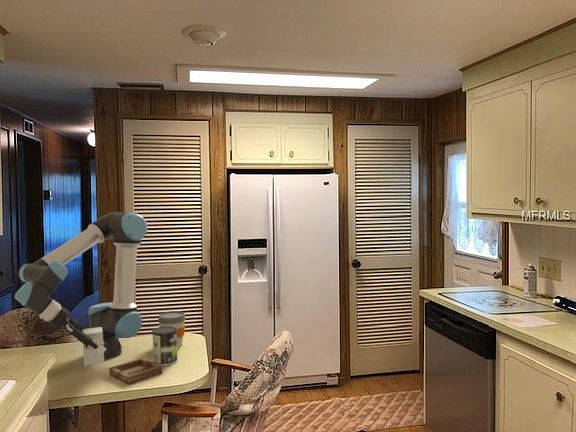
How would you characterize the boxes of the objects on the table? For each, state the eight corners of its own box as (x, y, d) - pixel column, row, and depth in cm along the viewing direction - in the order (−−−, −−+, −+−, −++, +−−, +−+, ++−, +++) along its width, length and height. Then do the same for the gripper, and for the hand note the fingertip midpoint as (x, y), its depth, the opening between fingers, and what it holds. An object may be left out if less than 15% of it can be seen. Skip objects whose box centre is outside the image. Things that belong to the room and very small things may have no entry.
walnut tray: (109, 375, 200) (109, 367, 200) (142, 364, 211) (142, 357, 211) (128, 385, 190) (128, 377, 190) (162, 373, 201) (162, 366, 201)
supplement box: (84, 366, 189) (82, 334, 188) (83, 359, 195) (81, 328, 194) (104, 363, 192) (102, 331, 190) (103, 356, 198) (101, 326, 197)
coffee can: (181, 357, 218) (180, 326, 217) (171, 366, 208) (170, 333, 207) (159, 356, 221) (158, 325, 219) (148, 365, 210) (147, 332, 209)
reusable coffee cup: (158, 342, 239) (157, 312, 238) (184, 340, 243) (183, 310, 242) (159, 351, 227) (158, 319, 226) (187, 348, 231) (186, 316, 230)
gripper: (48, 315, 195) (94, 348, 203) (46, 329, 176) (97, 365, 184) (62, 300, 196) (107, 333, 205) (62, 312, 178) (112, 349, 186)
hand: (102, 348), depth 194 cm, fingers closed on supplement box, 7 cm apart
